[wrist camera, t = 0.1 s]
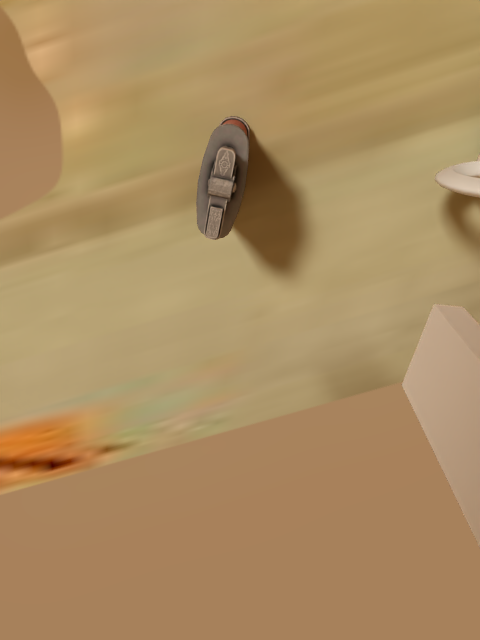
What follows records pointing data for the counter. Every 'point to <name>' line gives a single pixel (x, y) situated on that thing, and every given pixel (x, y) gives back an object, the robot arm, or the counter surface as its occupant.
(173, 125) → the counter surface
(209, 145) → the lighter
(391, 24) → the counter surface
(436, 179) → the mug
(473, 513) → the robot arm
